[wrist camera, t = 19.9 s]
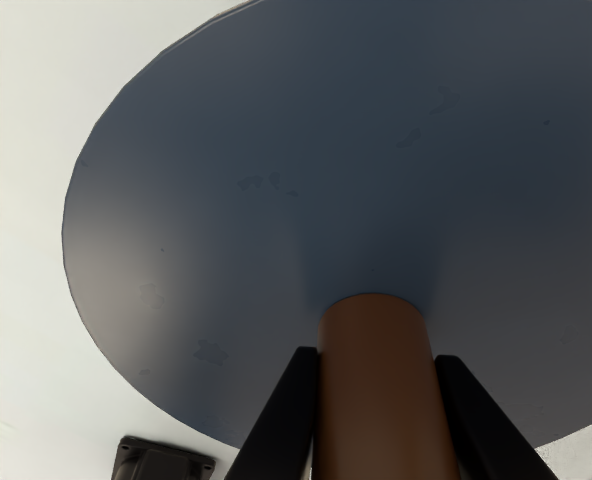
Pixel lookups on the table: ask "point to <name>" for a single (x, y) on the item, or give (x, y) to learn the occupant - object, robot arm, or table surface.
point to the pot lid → (349, 222)
